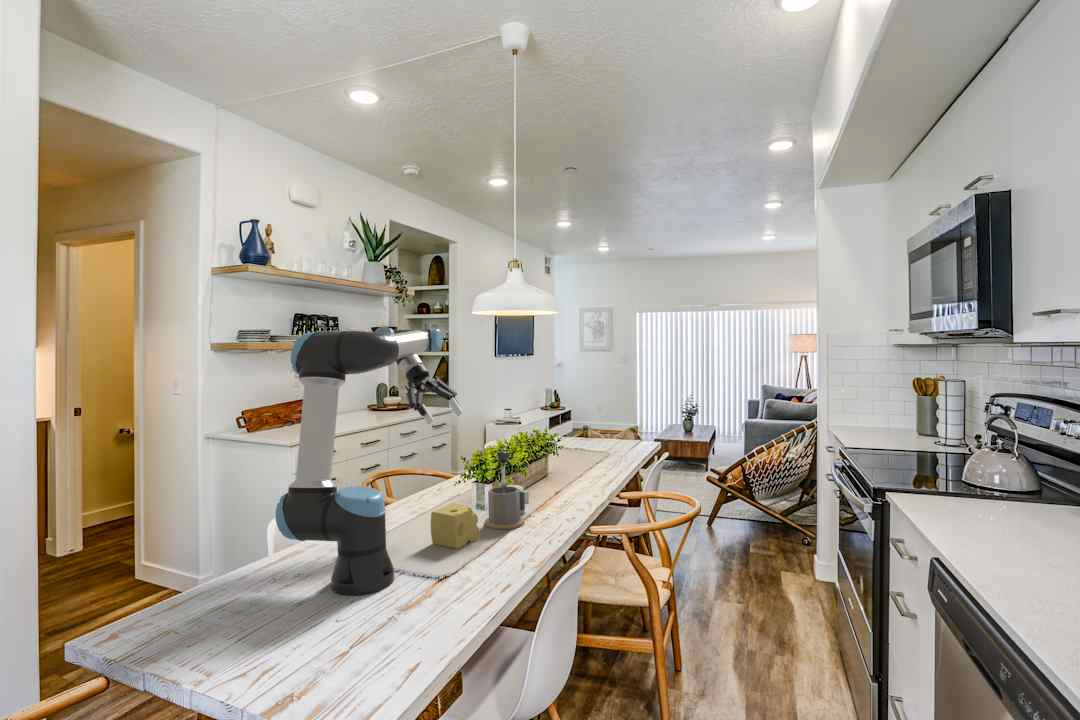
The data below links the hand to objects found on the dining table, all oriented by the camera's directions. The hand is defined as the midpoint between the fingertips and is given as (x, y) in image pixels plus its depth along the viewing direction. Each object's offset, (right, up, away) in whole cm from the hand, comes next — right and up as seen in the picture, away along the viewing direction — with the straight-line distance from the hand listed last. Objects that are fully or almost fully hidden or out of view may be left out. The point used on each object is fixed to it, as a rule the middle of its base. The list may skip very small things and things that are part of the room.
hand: (446, 418), depth 189 cm
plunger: (+20, -27, -5) cm, 33 cm away
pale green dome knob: (+23, -34, +6) cm, 41 cm away
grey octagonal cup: (+20, -34, -4) cm, 40 cm away
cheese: (+6, -35, -20) cm, 41 cm away
